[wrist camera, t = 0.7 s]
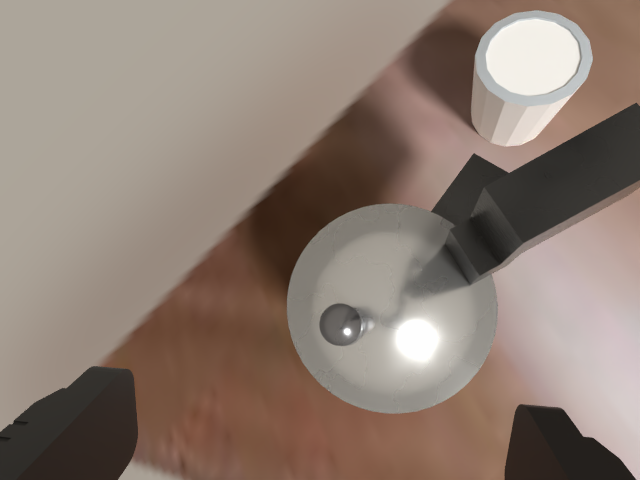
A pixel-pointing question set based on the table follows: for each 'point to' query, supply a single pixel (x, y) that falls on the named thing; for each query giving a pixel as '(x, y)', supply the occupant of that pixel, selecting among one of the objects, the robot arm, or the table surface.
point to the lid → (440, 273)
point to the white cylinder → (526, 74)
